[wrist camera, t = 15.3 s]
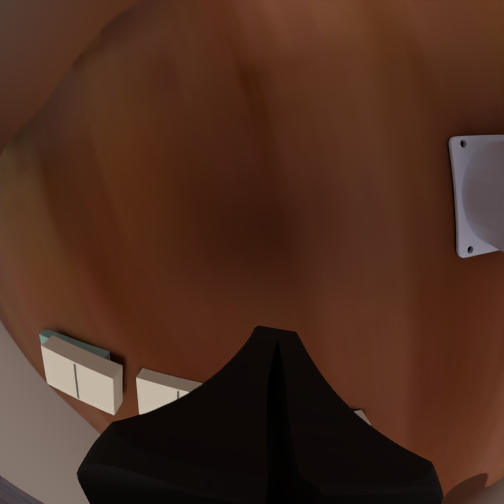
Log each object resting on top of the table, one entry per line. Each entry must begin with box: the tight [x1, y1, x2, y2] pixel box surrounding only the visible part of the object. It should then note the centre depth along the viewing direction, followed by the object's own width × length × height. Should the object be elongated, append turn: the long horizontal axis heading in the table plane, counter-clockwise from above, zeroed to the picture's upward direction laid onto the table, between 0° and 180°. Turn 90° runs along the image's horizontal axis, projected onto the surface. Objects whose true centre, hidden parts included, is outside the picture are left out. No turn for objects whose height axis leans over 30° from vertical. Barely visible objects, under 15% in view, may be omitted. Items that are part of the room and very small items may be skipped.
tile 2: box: [41, 335, 123, 415], centre depth 23 cm, size 2×4×7 cm
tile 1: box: [39, 329, 110, 360], centre depth 25 cm, size 2×4×7 cm
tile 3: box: [136, 368, 203, 414], centre depth 24 cm, size 2×4×7 cm
